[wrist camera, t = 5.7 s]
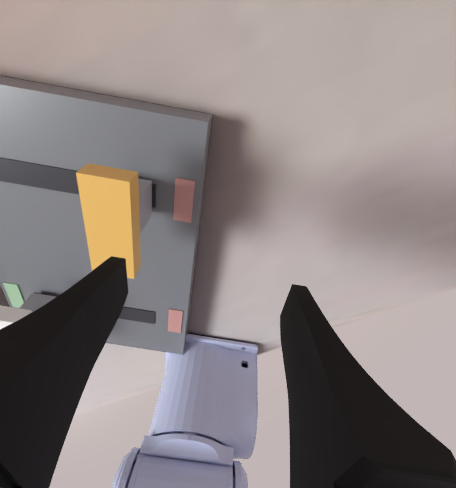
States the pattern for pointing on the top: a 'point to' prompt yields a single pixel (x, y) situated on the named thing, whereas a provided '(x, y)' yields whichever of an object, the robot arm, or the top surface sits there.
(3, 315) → the white switch
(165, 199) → the switch panel
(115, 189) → the amber switch
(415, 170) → the top surface
